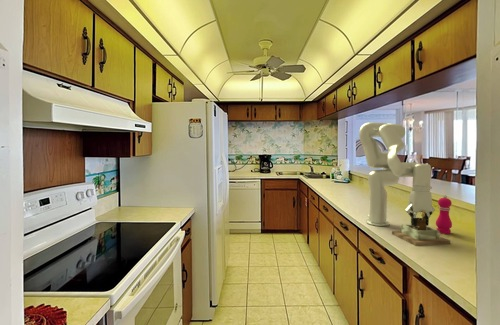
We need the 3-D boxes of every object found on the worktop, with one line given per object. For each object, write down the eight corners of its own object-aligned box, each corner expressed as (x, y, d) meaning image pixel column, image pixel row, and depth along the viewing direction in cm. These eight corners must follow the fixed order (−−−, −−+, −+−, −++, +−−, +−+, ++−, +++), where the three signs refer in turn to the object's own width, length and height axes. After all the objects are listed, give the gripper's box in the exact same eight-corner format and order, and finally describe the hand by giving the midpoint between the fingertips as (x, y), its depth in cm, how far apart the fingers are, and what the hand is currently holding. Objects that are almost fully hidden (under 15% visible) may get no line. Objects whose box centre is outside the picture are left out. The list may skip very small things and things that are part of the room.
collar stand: (391, 233, 156) (392, 223, 155) (423, 232, 158) (423, 222, 158) (415, 245, 138) (415, 233, 138) (450, 243, 140) (450, 232, 140)
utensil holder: (421, 230, 151) (422, 207, 150) (429, 234, 145) (430, 210, 144) (409, 231, 151) (410, 207, 150) (417, 234, 145) (418, 210, 144)
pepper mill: (445, 230, 162) (447, 193, 161) (455, 234, 155) (456, 196, 154) (432, 230, 162) (433, 193, 161) (441, 234, 155) (442, 196, 154)
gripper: (431, 187, 151) (429, 222, 153) (400, 188, 149) (398, 223, 150) (442, 189, 144) (441, 226, 145) (410, 190, 142) (408, 227, 143)
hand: (419, 224), depth 148 cm, fingers closed on utensil holder, 5 cm apart
